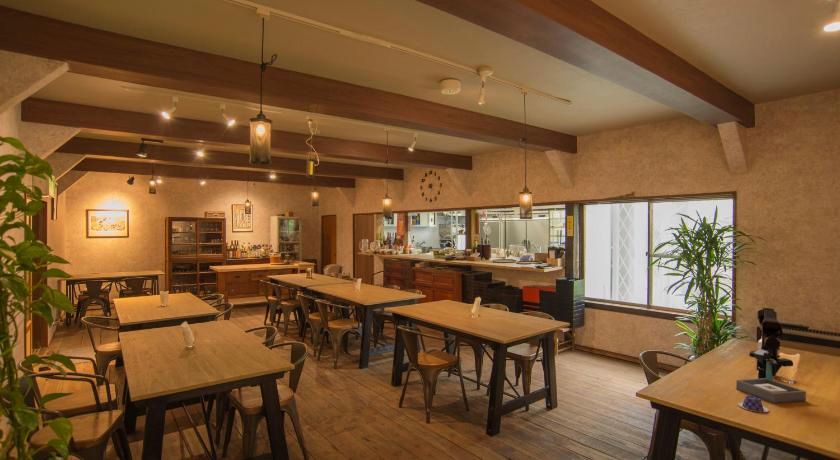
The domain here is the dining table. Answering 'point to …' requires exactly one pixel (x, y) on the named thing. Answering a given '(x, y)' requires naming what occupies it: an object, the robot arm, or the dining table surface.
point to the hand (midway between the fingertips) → (770, 374)
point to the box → (771, 390)
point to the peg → (769, 370)
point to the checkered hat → (753, 404)
